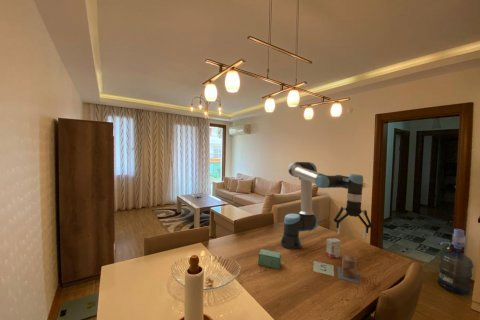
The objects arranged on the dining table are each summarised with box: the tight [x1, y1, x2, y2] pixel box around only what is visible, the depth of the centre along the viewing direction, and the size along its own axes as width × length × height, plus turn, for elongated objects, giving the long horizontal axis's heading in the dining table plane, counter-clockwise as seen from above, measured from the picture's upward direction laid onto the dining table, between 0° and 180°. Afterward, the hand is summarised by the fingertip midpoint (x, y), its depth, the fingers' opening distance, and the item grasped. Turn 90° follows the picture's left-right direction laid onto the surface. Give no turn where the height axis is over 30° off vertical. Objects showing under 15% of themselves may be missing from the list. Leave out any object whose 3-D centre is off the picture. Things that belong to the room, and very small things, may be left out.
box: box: [257, 248, 282, 270], centre depth 135 cm, size 7×14×8 cm, turn 73°
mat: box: [336, 266, 362, 285], centre depth 127 cm, size 12×14×1 cm
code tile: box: [312, 260, 335, 277], centre depth 133 cm, size 12×13×1 cm
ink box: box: [325, 237, 342, 259], centre depth 149 cm, size 9×5×12 cm, turn 108°
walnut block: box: [341, 253, 358, 279], centre depth 127 cm, size 7×7×10 cm
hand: (351, 235), depth 126 cm, fingers open, 13 cm apart
